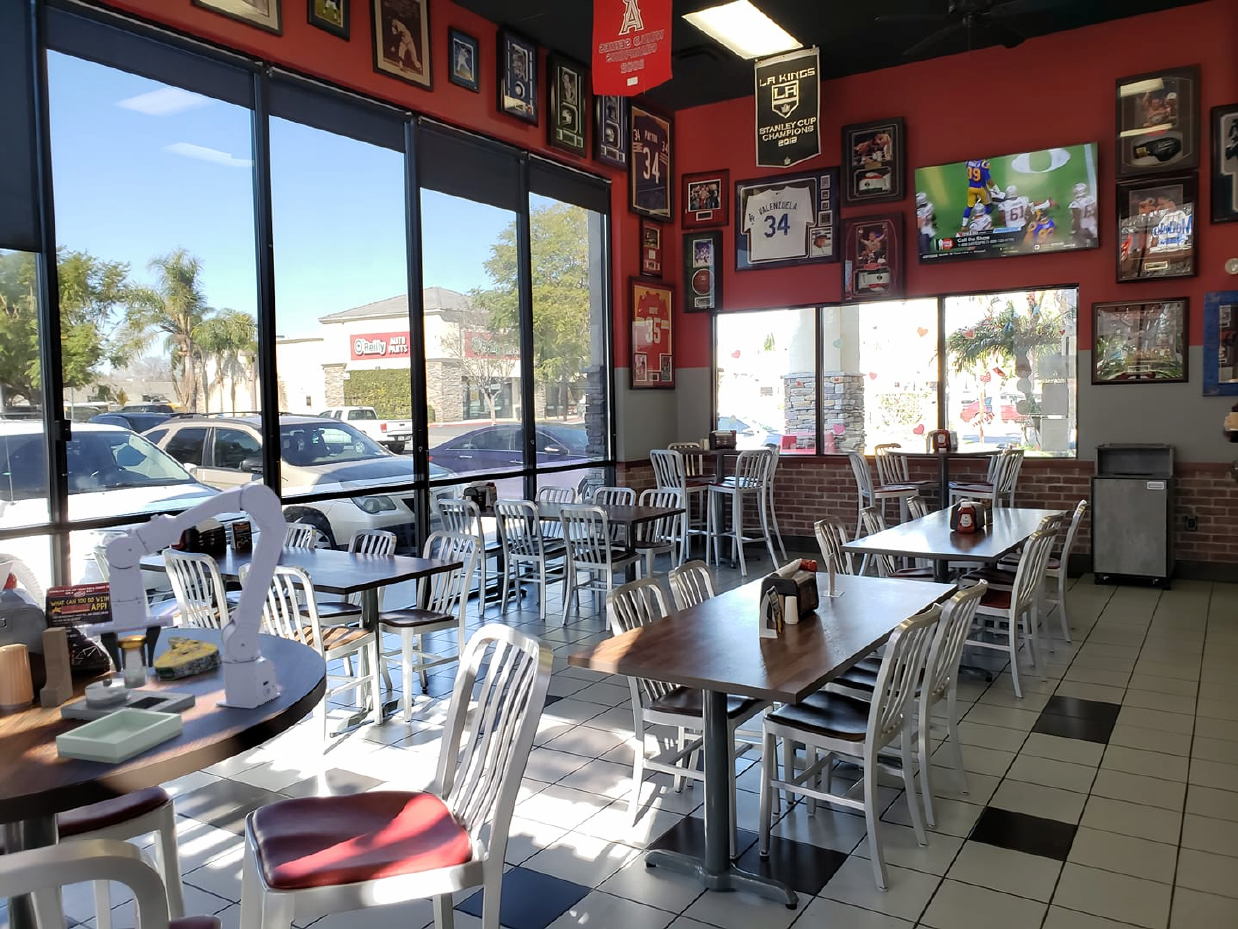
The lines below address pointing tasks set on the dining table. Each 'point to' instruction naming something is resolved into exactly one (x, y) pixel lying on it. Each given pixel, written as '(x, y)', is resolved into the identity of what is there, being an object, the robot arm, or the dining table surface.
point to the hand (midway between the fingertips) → (135, 668)
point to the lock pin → (134, 661)
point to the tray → (119, 735)
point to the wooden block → (56, 668)
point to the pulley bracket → (123, 701)
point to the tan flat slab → (186, 658)
